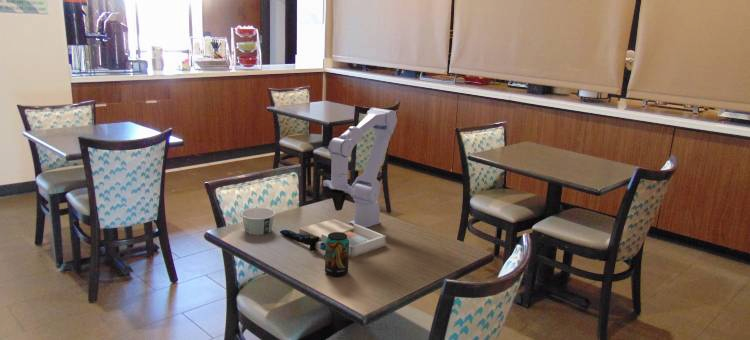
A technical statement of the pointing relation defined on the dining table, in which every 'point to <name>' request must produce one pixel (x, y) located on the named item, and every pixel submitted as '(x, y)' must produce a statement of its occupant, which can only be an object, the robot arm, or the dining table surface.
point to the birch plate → (325, 228)
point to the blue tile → (356, 240)
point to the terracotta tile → (350, 234)
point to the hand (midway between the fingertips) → (338, 209)
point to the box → (372, 242)
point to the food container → (258, 220)
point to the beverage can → (336, 254)
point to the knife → (304, 239)
